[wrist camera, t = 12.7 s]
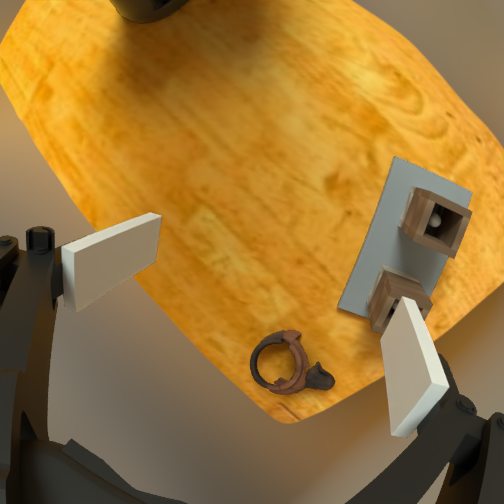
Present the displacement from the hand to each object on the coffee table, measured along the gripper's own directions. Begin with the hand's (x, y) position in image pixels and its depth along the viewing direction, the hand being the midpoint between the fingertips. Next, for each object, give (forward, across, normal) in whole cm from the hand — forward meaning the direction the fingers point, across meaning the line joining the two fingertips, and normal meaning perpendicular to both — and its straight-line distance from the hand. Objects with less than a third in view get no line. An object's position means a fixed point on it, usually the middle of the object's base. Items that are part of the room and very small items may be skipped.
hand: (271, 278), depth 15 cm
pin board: (+24, +13, -1) cm, 27 cm away
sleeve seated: (+22, +13, +4) cm, 26 cm away
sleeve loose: (+22, +13, -6) cm, 26 cm away
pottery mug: (+23, +5, -22) cm, 32 cm away
